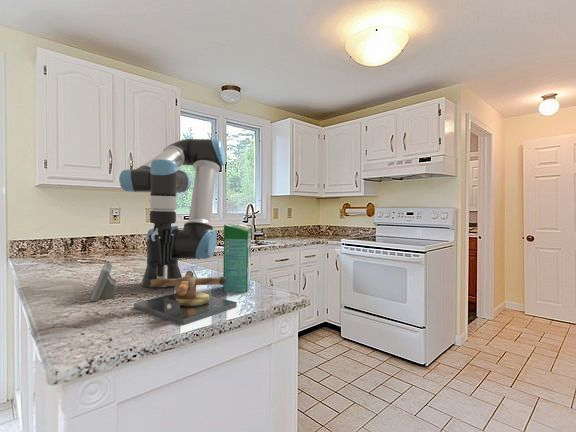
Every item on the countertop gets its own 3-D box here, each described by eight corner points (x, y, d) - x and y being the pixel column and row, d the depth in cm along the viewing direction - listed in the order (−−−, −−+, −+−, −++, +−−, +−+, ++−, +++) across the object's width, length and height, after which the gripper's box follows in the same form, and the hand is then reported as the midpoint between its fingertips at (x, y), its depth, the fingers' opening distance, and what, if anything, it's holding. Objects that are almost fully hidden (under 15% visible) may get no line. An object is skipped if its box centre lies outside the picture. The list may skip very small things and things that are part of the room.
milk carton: (247, 292, 120) (248, 224, 120) (223, 291, 121) (223, 224, 120) (250, 286, 130) (251, 223, 129) (228, 285, 130) (228, 223, 129)
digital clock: (95, 291, 119) (95, 262, 119) (122, 289, 121) (122, 261, 121) (79, 303, 103) (79, 270, 103) (110, 302, 106) (111, 269, 105)
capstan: (132, 316, 86) (133, 288, 86) (152, 292, 110) (152, 271, 110) (227, 311, 91) (227, 285, 91) (225, 290, 115) (225, 269, 115)
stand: (131, 308, 99) (131, 290, 99) (187, 294, 116) (187, 279, 116) (181, 325, 85) (181, 305, 85) (236, 306, 102) (236, 289, 102)
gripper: (161, 209, 107) (160, 280, 108) (140, 210, 94) (139, 290, 95) (183, 210, 106) (182, 281, 107) (165, 211, 93) (163, 292, 94)
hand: (161, 285), depth 101 cm, fingers closed
